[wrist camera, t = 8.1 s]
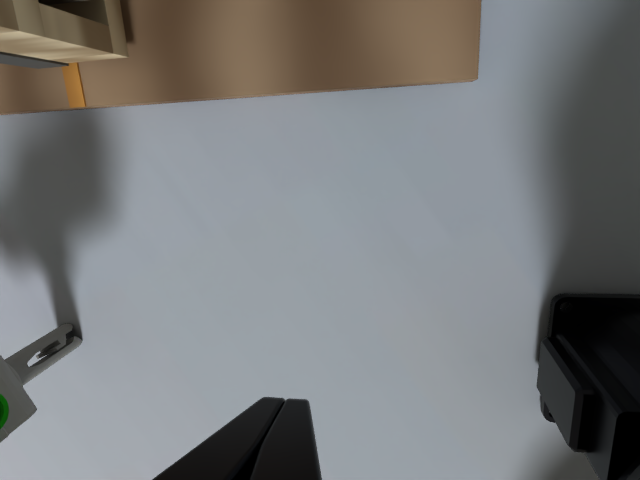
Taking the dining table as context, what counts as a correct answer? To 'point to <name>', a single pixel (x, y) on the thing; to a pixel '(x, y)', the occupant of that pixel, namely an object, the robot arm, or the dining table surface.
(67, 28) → the sleeve
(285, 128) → the dining table surface
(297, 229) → the dining table surface
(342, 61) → the pipe stand
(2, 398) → the mechanical component
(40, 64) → the gray slab
